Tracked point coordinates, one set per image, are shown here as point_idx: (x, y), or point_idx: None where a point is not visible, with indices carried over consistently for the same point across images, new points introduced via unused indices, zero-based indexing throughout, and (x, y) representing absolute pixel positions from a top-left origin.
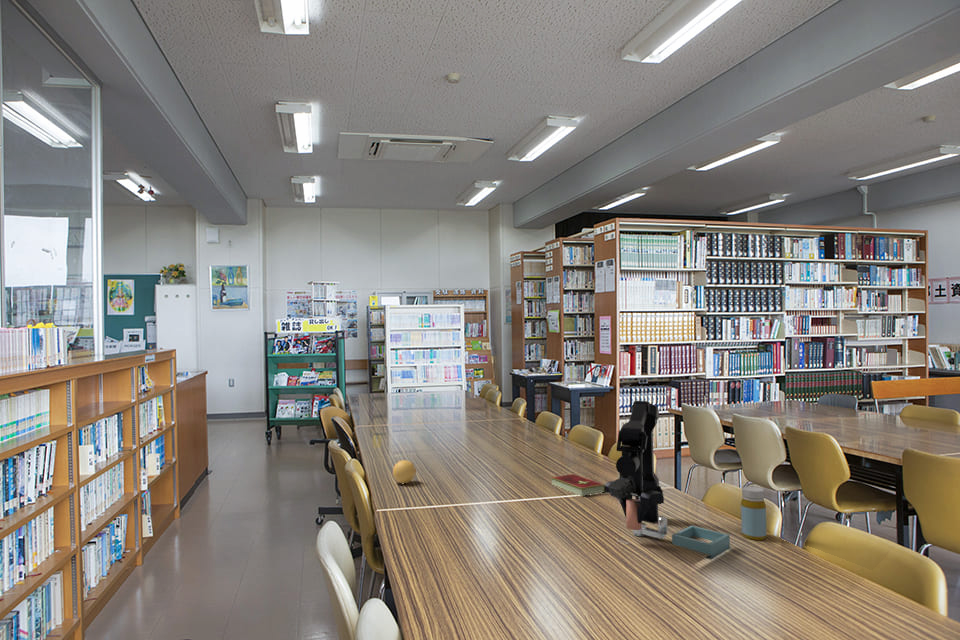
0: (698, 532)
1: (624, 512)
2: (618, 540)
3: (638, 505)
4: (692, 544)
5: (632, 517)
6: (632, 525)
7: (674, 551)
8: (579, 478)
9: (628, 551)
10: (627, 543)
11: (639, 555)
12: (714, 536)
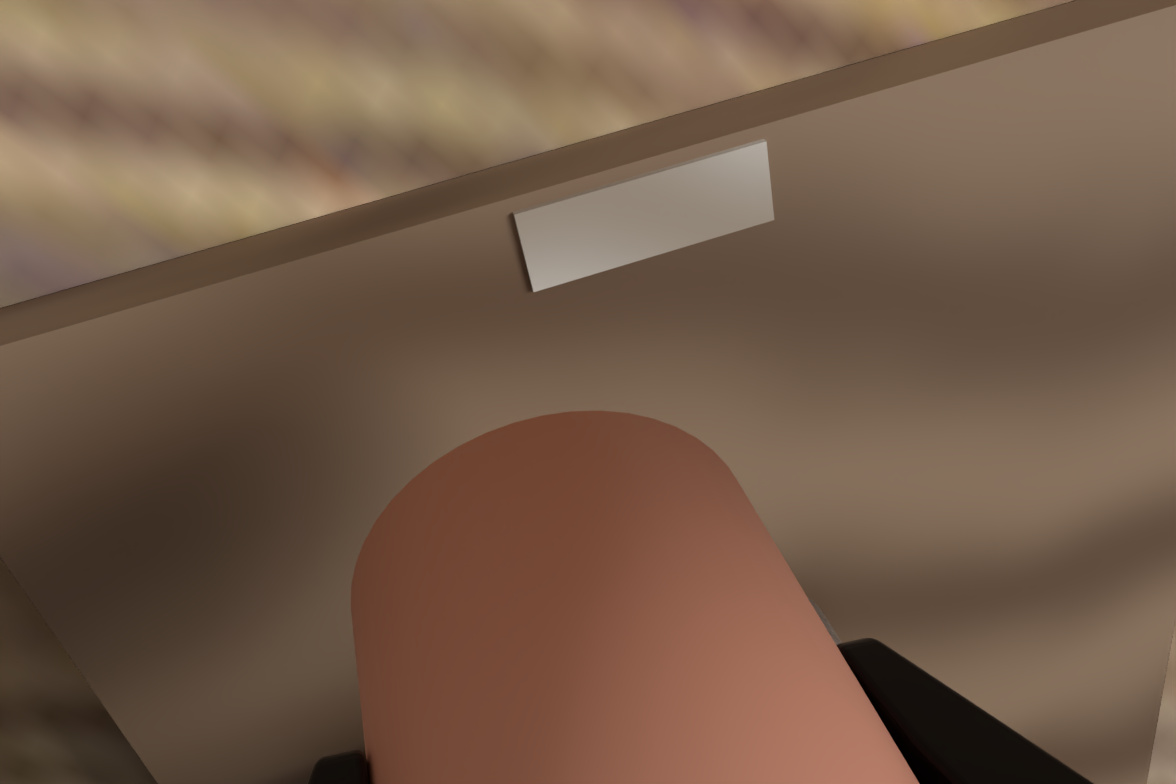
0: None
1: (1019, 765)
2: (769, 190)
3: None
4: None
5: (503, 774)
6: (451, 549)
7: (2, 769)
8: None
9: (356, 92)
10: (540, 243)
11: (45, 145)
12: None
